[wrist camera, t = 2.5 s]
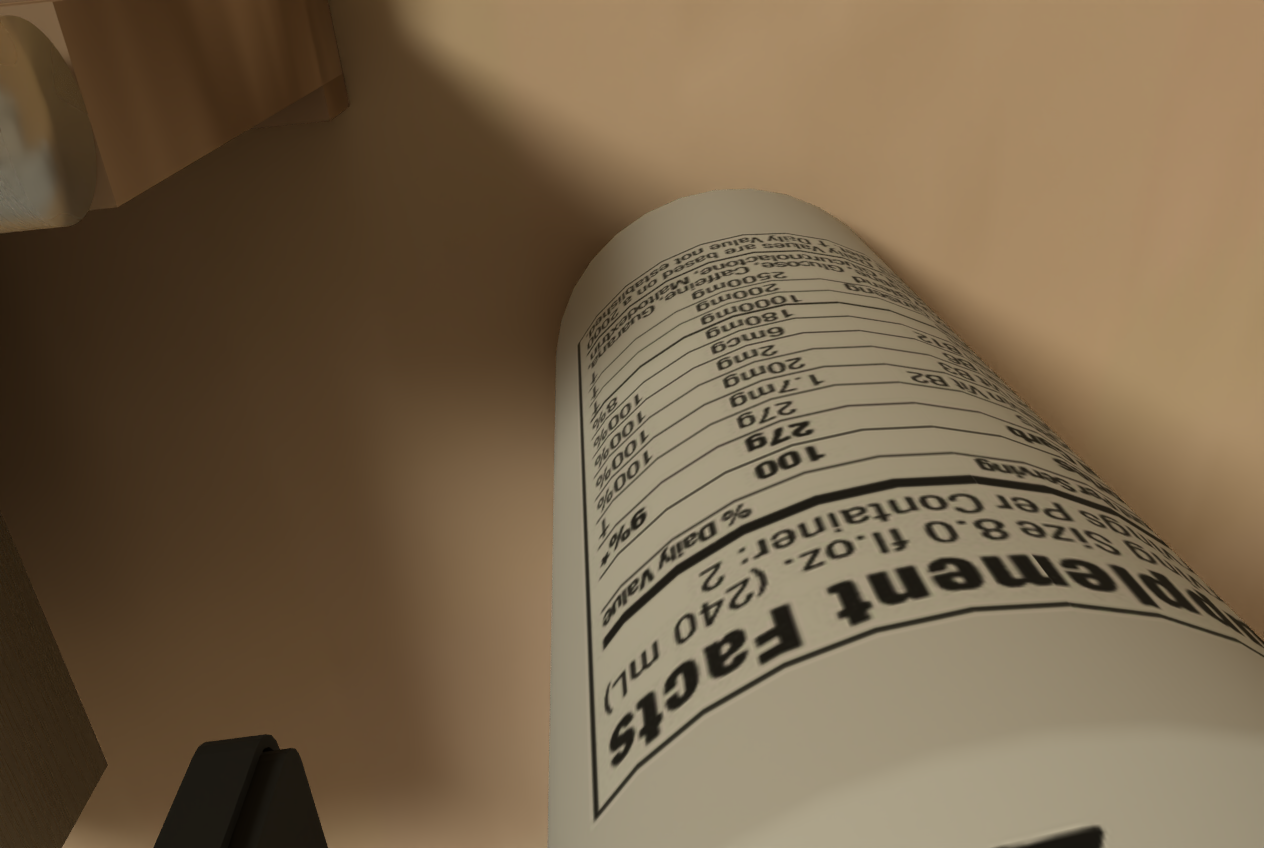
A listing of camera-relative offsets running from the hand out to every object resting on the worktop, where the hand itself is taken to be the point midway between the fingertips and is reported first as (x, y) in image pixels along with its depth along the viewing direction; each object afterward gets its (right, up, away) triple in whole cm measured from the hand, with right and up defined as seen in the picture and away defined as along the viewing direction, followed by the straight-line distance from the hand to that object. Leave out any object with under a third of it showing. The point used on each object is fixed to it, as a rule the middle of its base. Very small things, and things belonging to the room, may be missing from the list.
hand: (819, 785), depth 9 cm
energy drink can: (0, +5, +9) cm, 11 cm away
